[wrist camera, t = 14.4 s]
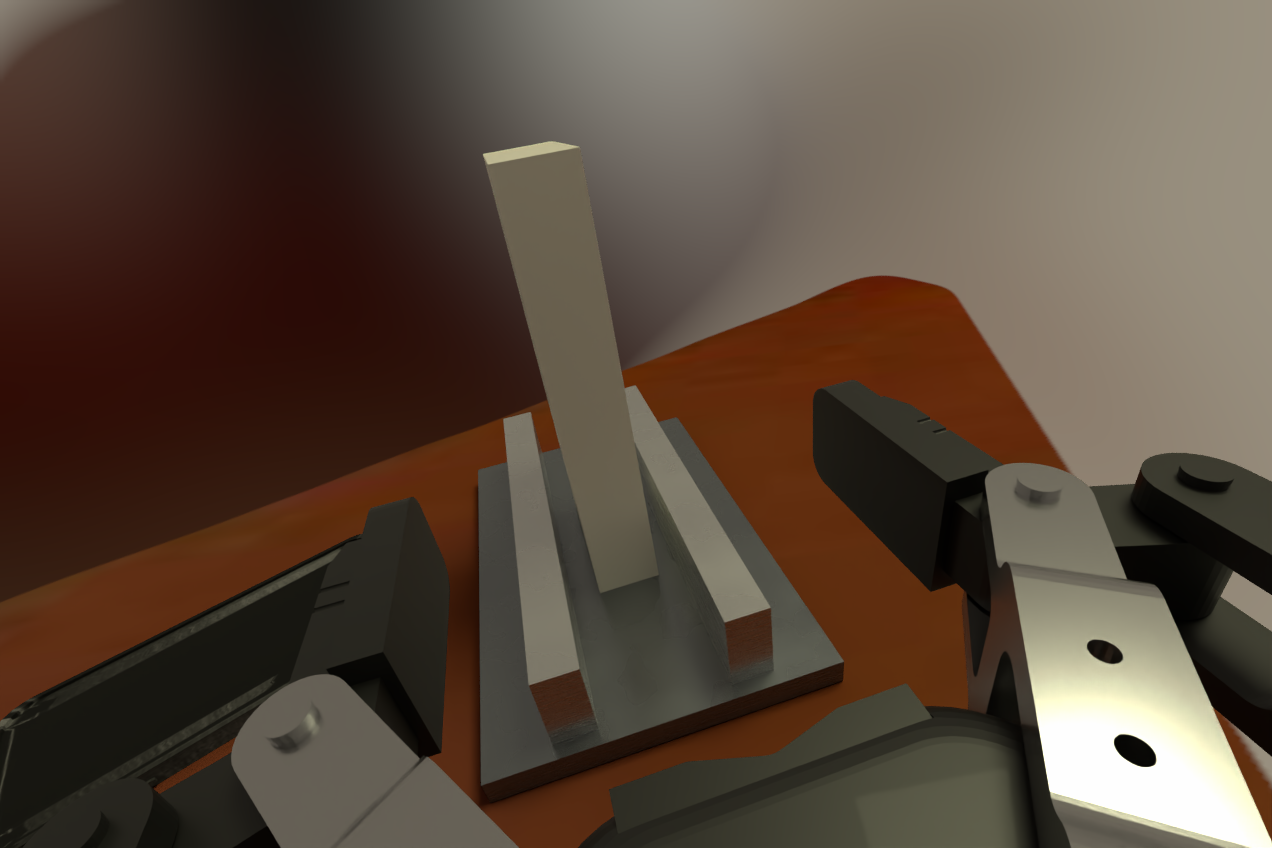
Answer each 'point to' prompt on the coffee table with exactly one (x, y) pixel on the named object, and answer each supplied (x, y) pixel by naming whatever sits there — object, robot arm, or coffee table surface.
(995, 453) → the coffee table surface
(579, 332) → the door leaf
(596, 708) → the floor track
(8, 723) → the phone
